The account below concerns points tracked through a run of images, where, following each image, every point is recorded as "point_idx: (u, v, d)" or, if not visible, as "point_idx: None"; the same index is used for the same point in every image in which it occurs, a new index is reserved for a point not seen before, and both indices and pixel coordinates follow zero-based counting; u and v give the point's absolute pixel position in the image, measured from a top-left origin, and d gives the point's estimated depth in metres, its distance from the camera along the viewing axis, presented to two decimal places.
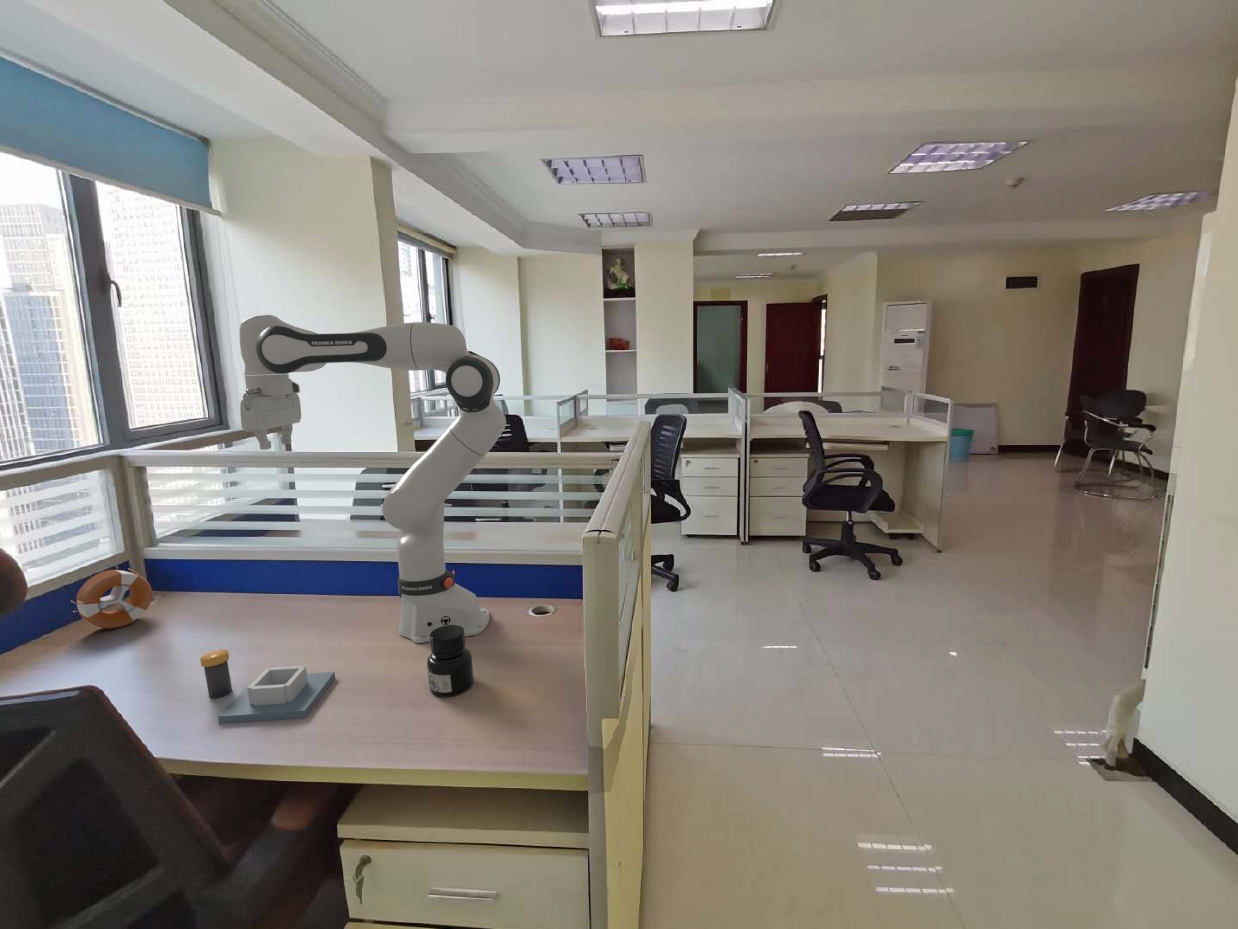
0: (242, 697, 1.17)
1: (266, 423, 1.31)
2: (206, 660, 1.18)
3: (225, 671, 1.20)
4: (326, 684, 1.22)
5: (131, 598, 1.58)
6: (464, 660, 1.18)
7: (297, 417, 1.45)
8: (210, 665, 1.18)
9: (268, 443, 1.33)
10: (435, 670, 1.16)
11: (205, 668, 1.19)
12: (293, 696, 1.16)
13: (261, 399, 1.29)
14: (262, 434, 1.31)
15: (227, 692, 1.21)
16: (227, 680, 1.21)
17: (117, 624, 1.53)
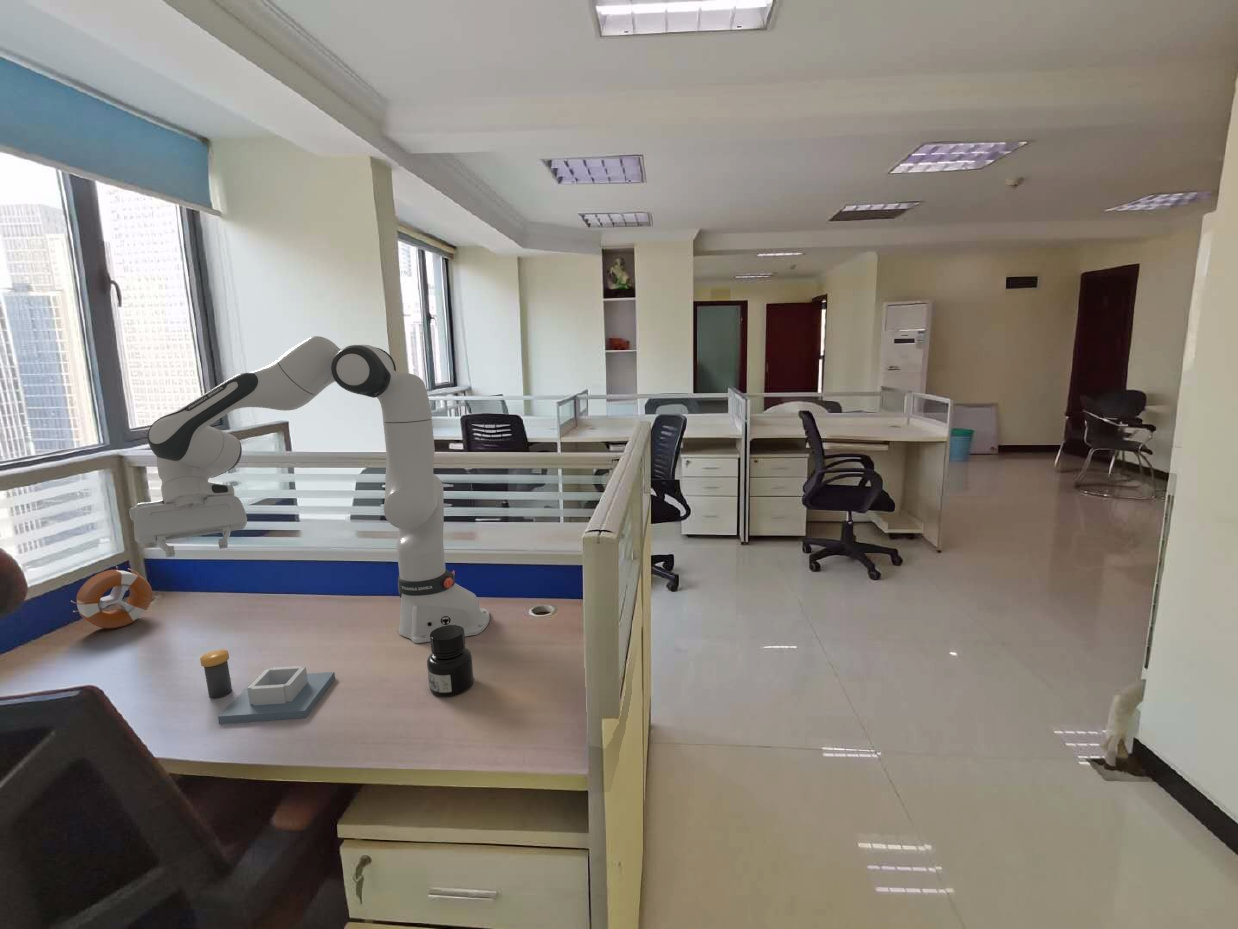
0: (242, 697, 1.17)
1: (156, 528, 1.23)
2: (206, 660, 1.18)
3: (225, 671, 1.20)
4: (326, 684, 1.22)
5: (131, 598, 1.58)
6: (464, 660, 1.18)
7: (236, 517, 1.33)
8: (210, 665, 1.18)
9: (167, 548, 1.23)
10: (435, 670, 1.16)
11: (205, 668, 1.19)
12: (293, 696, 1.16)
13: (148, 507, 1.25)
14: (157, 541, 1.23)
15: (227, 692, 1.21)
16: (227, 680, 1.21)
17: (117, 624, 1.53)
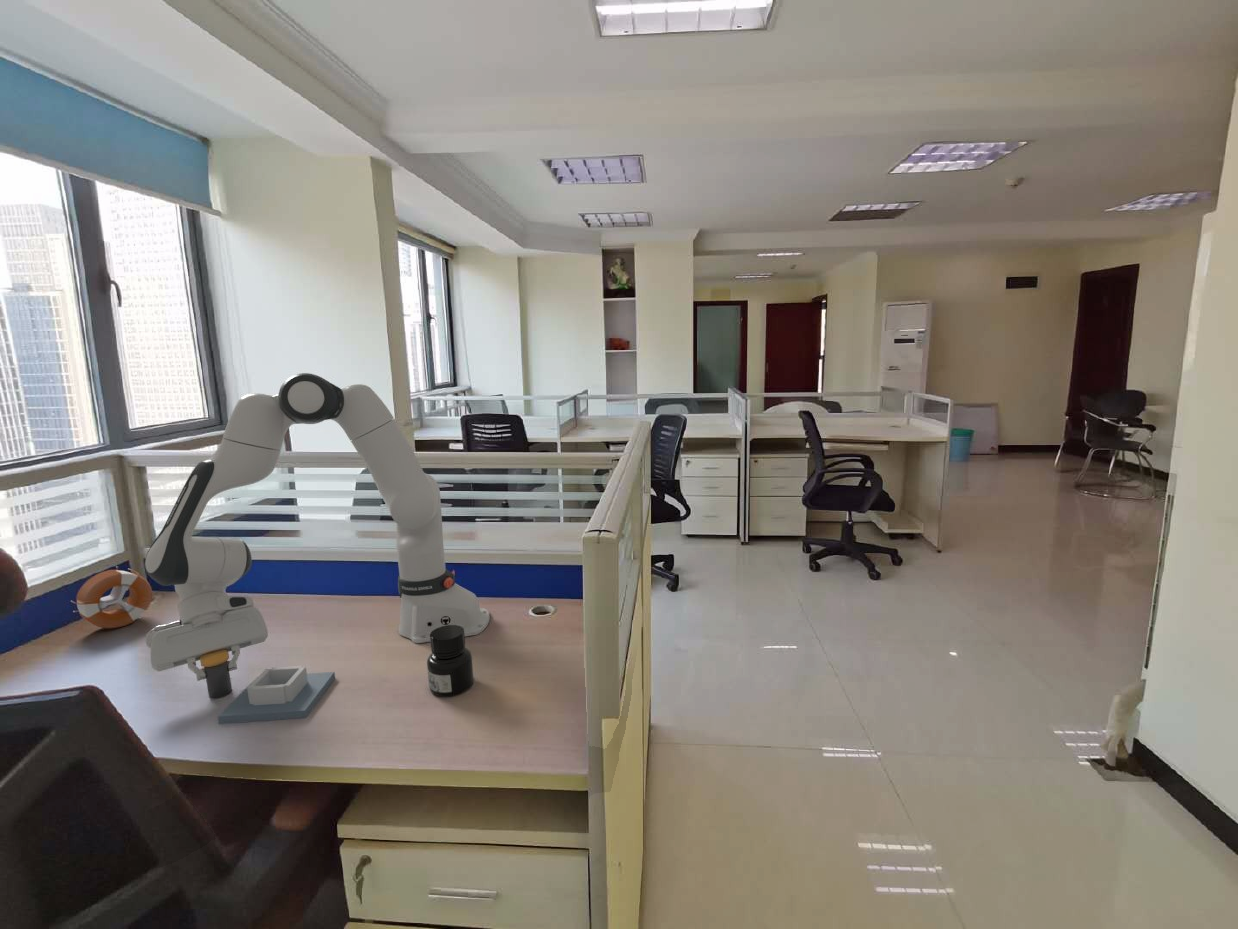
0: (242, 697, 1.17)
1: (173, 655, 1.17)
2: (206, 660, 1.18)
3: (225, 671, 1.20)
4: (326, 684, 1.22)
5: (131, 598, 1.58)
6: (464, 660, 1.18)
7: (256, 631, 1.26)
8: (210, 665, 1.18)
9: (198, 671, 1.18)
10: (435, 670, 1.16)
11: (205, 668, 1.19)
12: (293, 696, 1.16)
13: (165, 631, 1.19)
14: None
15: (227, 692, 1.21)
16: (227, 680, 1.21)
17: (117, 624, 1.53)
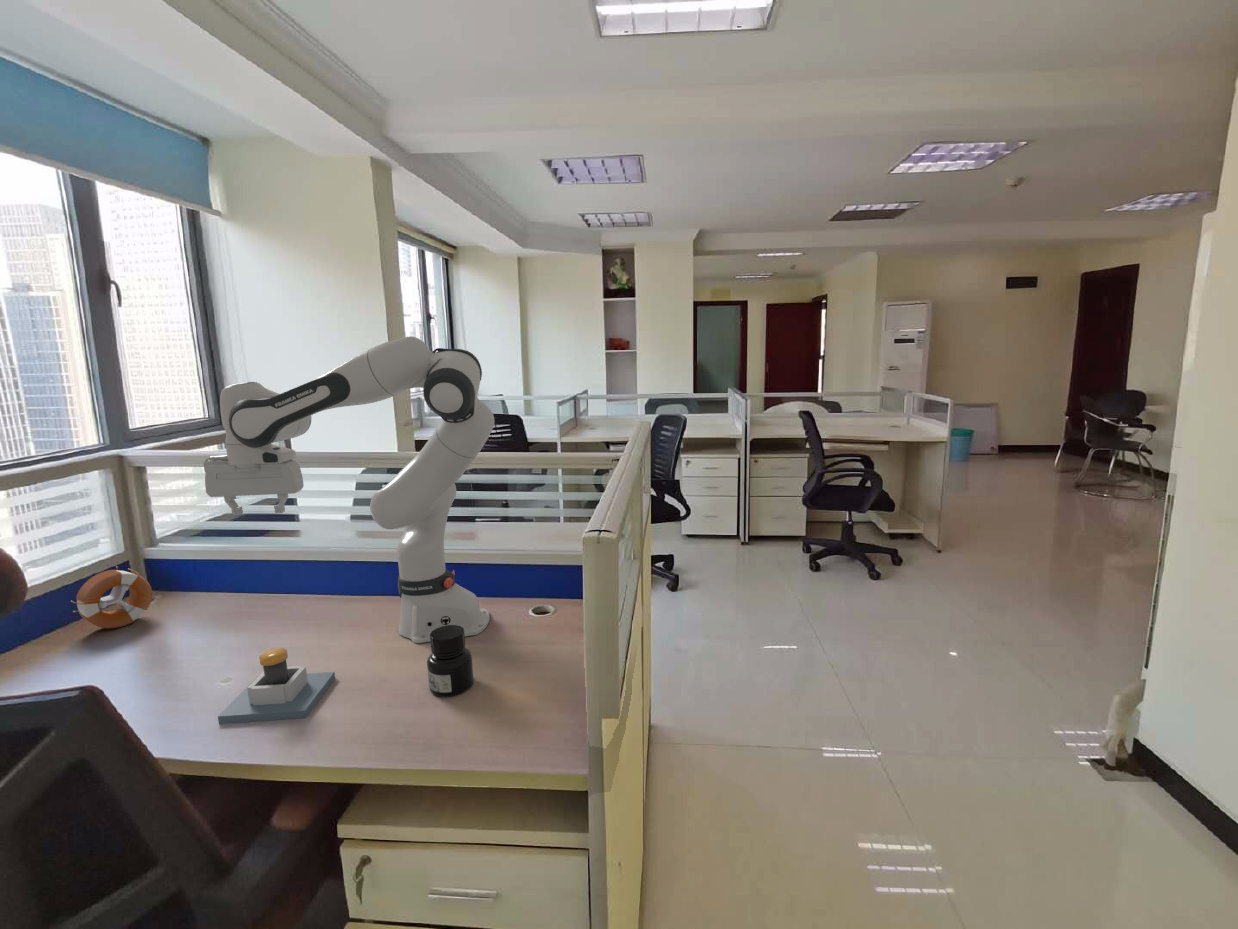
0: (242, 697, 1.17)
1: (221, 491, 1.32)
2: (266, 659, 1.15)
3: (284, 670, 1.17)
4: (326, 684, 1.22)
5: (131, 598, 1.58)
6: (464, 660, 1.18)
7: (287, 488, 1.33)
8: (270, 664, 1.14)
9: (233, 509, 1.34)
10: (435, 670, 1.16)
11: (265, 667, 1.15)
12: (293, 696, 1.16)
13: (214, 467, 1.31)
14: None
15: None
16: (286, 680, 1.17)
17: (117, 624, 1.53)
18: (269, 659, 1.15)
